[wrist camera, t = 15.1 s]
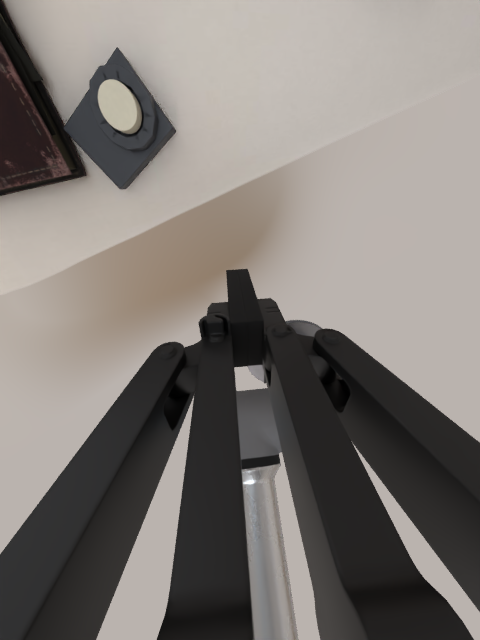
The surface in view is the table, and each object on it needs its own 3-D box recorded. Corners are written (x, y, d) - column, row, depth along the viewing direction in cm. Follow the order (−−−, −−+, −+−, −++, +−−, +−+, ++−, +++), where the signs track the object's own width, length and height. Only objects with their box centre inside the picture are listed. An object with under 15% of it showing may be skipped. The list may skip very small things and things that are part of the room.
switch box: (126, 189, 30) (114, 189, 27) (73, 132, 27) (52, 124, 23) (176, 131, 27) (170, 123, 24) (125, 57, 23) (109, 36, 20)
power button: (128, 142, 25) (122, 140, 24) (97, 105, 23) (89, 100, 22) (149, 116, 24) (144, 111, 22) (119, 75, 22) (112, 67, 20)
